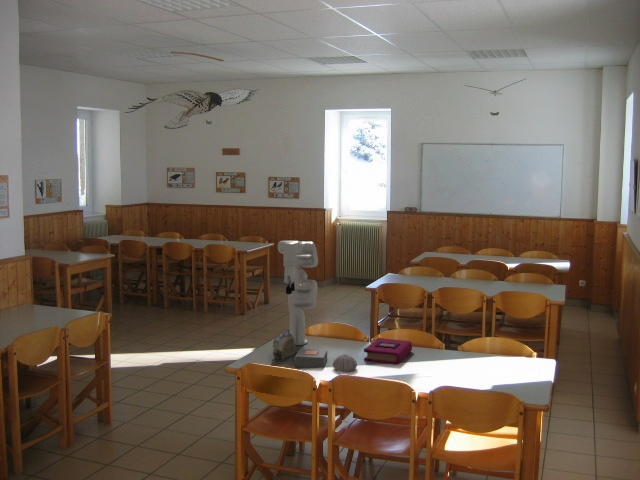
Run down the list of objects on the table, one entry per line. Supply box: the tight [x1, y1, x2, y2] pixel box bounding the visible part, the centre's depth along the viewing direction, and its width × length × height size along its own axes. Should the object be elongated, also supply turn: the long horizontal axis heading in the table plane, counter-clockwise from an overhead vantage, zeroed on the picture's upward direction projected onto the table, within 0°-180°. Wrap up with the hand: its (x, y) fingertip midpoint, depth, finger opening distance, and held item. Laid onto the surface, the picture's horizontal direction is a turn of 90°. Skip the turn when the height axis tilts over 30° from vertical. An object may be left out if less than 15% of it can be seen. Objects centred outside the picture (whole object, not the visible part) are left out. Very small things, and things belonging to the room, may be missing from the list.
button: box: [304, 351, 318, 355], centre depth 375 cm, size 7×7×3 cm
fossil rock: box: [272, 329, 296, 362], centre depth 388 cm, size 21×10×15 cm, turn 158°
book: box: [363, 337, 413, 366], centre depth 386 cm, size 21×28×8 cm
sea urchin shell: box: [332, 354, 358, 373], centre depth 363 cm, size 13×14×8 cm
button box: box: [294, 348, 328, 368], centre depth 375 cm, size 16×16×6 cm
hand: (290, 292), depth 392 cm, fingers open, 9 cm apart
